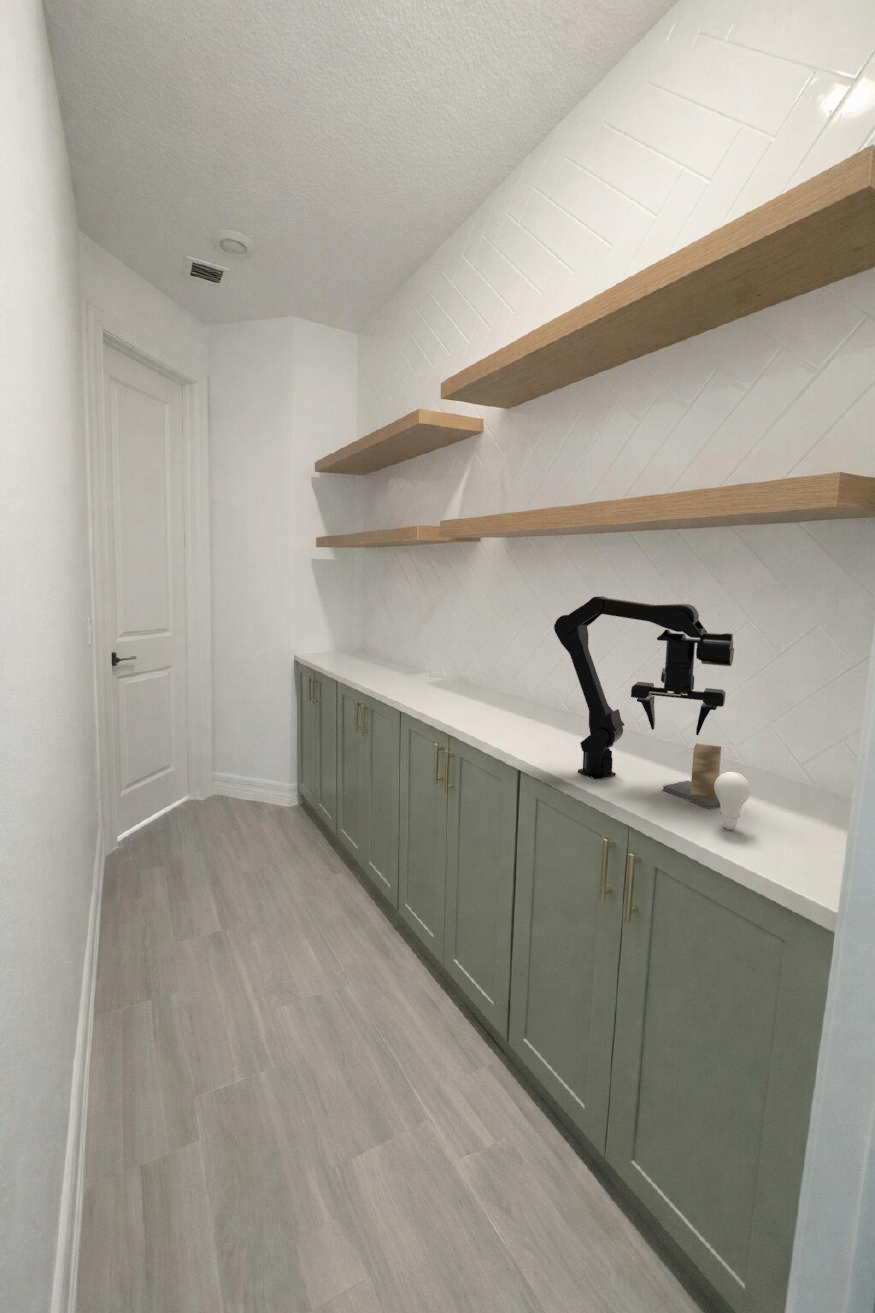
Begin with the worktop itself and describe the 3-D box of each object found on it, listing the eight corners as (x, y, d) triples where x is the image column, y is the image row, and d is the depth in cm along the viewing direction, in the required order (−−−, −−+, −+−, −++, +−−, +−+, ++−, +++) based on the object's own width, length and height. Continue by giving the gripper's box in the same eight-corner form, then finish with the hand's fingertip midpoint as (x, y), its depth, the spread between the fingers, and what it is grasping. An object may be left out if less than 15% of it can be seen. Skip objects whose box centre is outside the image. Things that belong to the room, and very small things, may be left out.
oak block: (690, 794, 127) (693, 748, 126) (693, 787, 132) (696, 743, 130) (716, 798, 125) (719, 752, 124) (717, 791, 129) (721, 746, 128)
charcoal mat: (663, 790, 133) (663, 786, 132) (687, 784, 136) (687, 780, 136) (710, 809, 122) (711, 804, 122) (735, 802, 126) (735, 797, 126)
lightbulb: (727, 837, 109) (732, 779, 107) (703, 824, 115) (708, 768, 113) (754, 834, 110) (759, 776, 109) (730, 820, 116) (734, 766, 115)
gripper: (729, 661, 132) (724, 729, 134) (642, 654, 141) (638, 719, 143) (725, 667, 123) (720, 741, 125) (632, 660, 132) (628, 729, 134)
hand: (674, 732), depth 132 cm, fingers open, 9 cm apart
